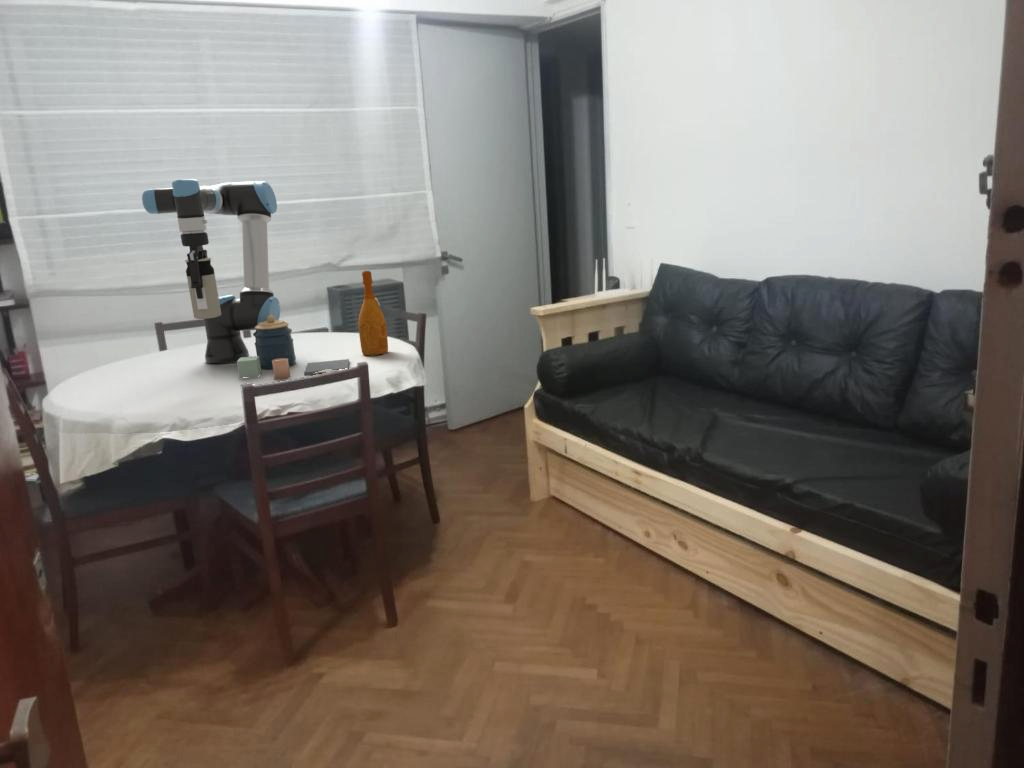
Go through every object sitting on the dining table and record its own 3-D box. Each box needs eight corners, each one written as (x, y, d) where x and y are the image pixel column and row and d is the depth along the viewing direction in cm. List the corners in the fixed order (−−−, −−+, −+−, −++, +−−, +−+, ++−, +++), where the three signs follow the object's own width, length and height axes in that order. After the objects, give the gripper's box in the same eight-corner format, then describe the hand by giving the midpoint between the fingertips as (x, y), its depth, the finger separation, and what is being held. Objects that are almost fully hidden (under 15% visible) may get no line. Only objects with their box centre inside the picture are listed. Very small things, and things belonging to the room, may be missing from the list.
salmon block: (275, 376, 238) (272, 358, 236) (291, 375, 238) (288, 357, 237) (273, 380, 233) (270, 362, 231) (289, 378, 234) (286, 360, 232)
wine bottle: (382, 356, 257) (373, 272, 250) (356, 356, 260) (347, 272, 252) (393, 350, 267) (384, 268, 259) (369, 350, 269) (360, 269, 261)
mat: (308, 365, 250) (307, 362, 250) (349, 361, 252) (349, 359, 252) (304, 375, 237) (304, 372, 236) (348, 371, 239) (347, 368, 239)
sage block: (243, 374, 243) (240, 357, 241) (261, 373, 244) (258, 355, 242) (239, 379, 237) (236, 361, 236) (258, 377, 238) (256, 359, 237)
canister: (304, 362, 256) (297, 313, 251) (275, 371, 245) (267, 319, 241) (279, 359, 263) (272, 311, 258) (250, 367, 252) (242, 317, 248)
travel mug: (227, 314, 228) (217, 257, 223) (207, 319, 221) (197, 260, 216) (208, 314, 231) (198, 257, 226) (188, 319, 224) (178, 260, 219)
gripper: (197, 233, 210) (210, 311, 216) (214, 229, 229) (226, 301, 235) (170, 235, 209) (184, 313, 215) (189, 231, 228) (202, 302, 234)
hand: (206, 306), depth 225 cm, fingers closed on travel mug, 8 cm apart
